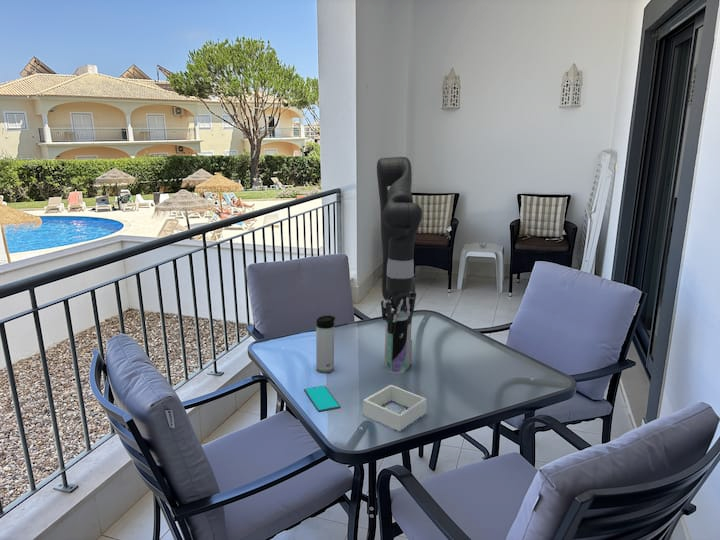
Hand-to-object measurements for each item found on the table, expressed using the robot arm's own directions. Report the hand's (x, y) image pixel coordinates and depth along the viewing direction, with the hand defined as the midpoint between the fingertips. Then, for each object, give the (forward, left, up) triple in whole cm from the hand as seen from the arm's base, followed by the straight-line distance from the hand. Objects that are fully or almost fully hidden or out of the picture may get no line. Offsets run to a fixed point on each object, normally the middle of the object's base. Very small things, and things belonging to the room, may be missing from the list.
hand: (397, 330), depth 146 cm
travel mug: (-8, -37, -27) cm, 47 cm away
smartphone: (+8, -23, -28) cm, 37 cm away
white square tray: (0, 0, -27) cm, 27 cm away
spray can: (0, 0, -13) cm, 13 cm away
